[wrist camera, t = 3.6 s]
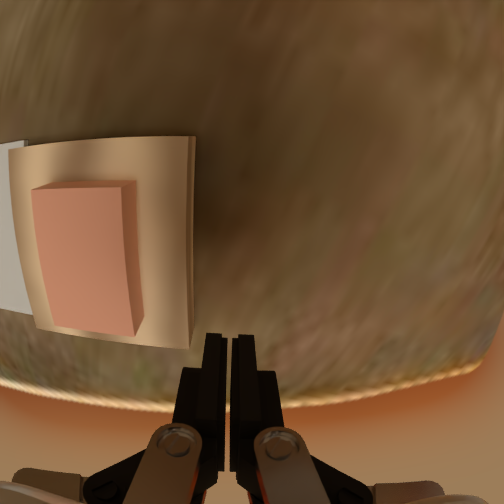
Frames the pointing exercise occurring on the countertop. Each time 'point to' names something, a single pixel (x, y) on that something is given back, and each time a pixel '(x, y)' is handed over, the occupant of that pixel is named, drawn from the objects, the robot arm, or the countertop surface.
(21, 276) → the mat
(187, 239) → the plate
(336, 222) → the countertop surface
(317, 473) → the robot arm
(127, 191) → the salmon pink rectangular block
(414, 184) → the countertop surface
